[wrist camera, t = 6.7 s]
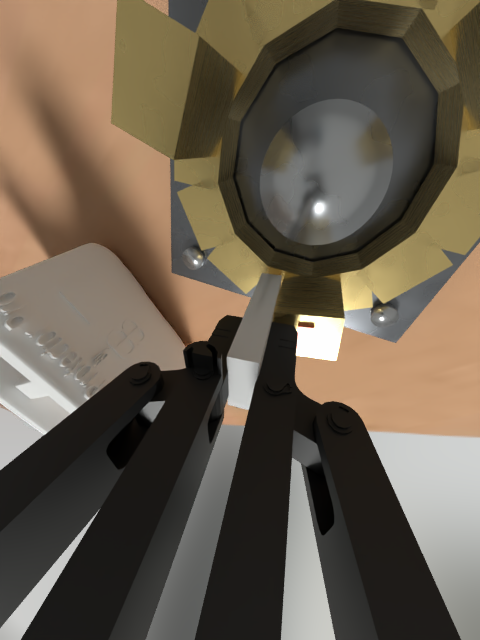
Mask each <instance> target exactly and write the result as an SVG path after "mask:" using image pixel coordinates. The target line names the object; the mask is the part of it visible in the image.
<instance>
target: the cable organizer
mask: <svg viewBox="0 0 480 640" xmlns="http://www.w3.org/2000/svg"><path fill="white" fill-rule="evenodd" d="M185 348H186V347H185V345H184V344H183V342H182V340H181V339H180V337H179V336H178V335H177V333H176V332H175V331H174V329H173V328H172V327H171V325H170V324H169V323H168V321H166V320H165V318H164V317H163V316H162V314H161V313H160V312H159V310H158V309H157V308H156V307H155V305H154V304H153V303H152V301H151V300H150V299H149V297H148V296H147V295H146V293H145V291H144V289H143V288H142V287H141V285H140V284H139V283H138V281H137V280H136V279H135V278H134V276H133V275H132V274H131V272H130V271H129V270H128V268H127V267H126V266H124V264H123V263H122V262H121V260H120V259H119V258H118V257H117V256H116V255H115V254H114V253H113V252H112V251H110V250H109V249H107V248H106V247H104V246H102V245H100V244H96V243H87V244H84V245H82V246H79V247H77V248H74V249H72V250H69V251H67V252H64V253H62V254H59V255H57V256H54V257H52V258H49V259H47V260H44V261H42V262H39V263H37V264H34V265H32V266H29V267H27V268H24V269H21V270H19V271H16V272H14V273H11V274H9V275H6V276H4V277H1V278H0V403H1V404H2V405H3V406H5V407H6V408H7V409H9V410H10V411H12V412H13V413H14V414H16V415H17V416H18V417H20V418H21V419H23V420H24V421H25V422H27V423H28V424H29V425H31V426H32V427H34V428H35V429H36V430H38V431H39V432H40V433H42V434H43V435H45V434H46V433H47V432H49V431H50V430H51V429H52V428H54V427H55V426H56V425H57V424H59V423H60V422H61V421H62V420H64V419H65V418H66V417H67V416H69V415H70V414H71V413H72V412H74V411H75V410H76V409H77V408H79V407H80V406H81V405H82V404H84V403H85V402H86V401H87V400H89V399H90V398H91V397H92V396H93V395H95V394H96V393H97V392H98V391H100V390H101V389H102V388H103V387H105V386H106V385H107V384H108V383H110V382H111V381H112V380H113V379H115V378H116V377H117V376H118V375H120V374H121V373H122V372H123V371H125V370H126V369H127V368H129V367H130V366H132V365H134V364H136V363H140V362H153V363H156V364H157V365H158V366H159V367H160V370H161V371H167V370H179V369H184V368H186V366H185V360H184V355H183V350H184V349H185Z"/></svg>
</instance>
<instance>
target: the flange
mask: <svg viewBox="0 0 480 640" xmlns="http://www.w3.org/2000/svg"><path fill="white" fill-rule="evenodd" d="M207 3H208V0H169V17H170V18H172V19H174V20H175V21H177V22H178V23H180V24H182V25H183V26H185V27H186V28H188V29H190V30H191V31H193V32H194V33H195V32H196V30H197V28H198V25H199V23H200V20H201V18H202V15H203V13H204V10H205V8H206V5H207ZM437 109H438V92H437V90H436V89H435V87H434V86H433V84H432V83H431V81H430V80H429V78H428V77H427V75H426V74H425V72H424V71H423V69H422V68H421V66H420V64H419V63H418V61H417V60H416V58H415V57H414V55H413V54H412V52H411V51H410V49H409V48H408V46H407V45H406V43H405V42H404V40H403V39H402V38H400V37H394V36H387V35H381V34H375V33H368V32H362V31H355V30H349V29H342V28H335V29H334V30H332V31H330V32H328V33H327V34H325V35H323V36H322V37H320V38H318V39H317V40H315V41H313V42H312V43H310V44H308V45H307V46H305V47H303V48H301V49H300V50H298V51H296V52H295V53H293V54H291V55H290V56H288V57H286V58H285V59H283V60H281V61H280V62H278V63H276V64H275V66H274V67H273V69H272V71H271V72H270V74H269V75H268V77H267V79H266V80H265V82H264V84H263V85H262V87H261V89H260V90H259V92H258V94H257V95H256V97H255V99H254V100H253V102H252V103H251V105H250V107H249V108H248V110H247V112H246V113H245V115H244V117H243V118H242V120H241V122H240V128H239V136H238V144H237V151H236V159H235V167H234V174H233V180H234V183H235V187H236V190H237V193H238V196H239V200H240V203H241V206H242V209H243V213H244V216H245V219H246V222H247V224H248V225H249V226H250V227H251V228H252V229H253V230H254V231H255V232H256V233H257V234H258V235H259V236H260V237H261V238H262V239H263V240H264V241H265V242H266V243H267V244H268V245H269V246H270V247H271V248H272V249H273V250H274V251H275V252H279V253H282V254H286V255H289V256H293V257H297V258H300V259H304V260H307V261H311V262H316V261H321V260H326V259H331V258H335V257H340V256H345V255H349V254H354V253H358V252H359V251H360V250H362V249H363V248H364V247H366V246H367V245H369V244H370V243H371V242H373V241H374V240H375V239H377V238H378V237H379V236H381V235H382V234H383V233H385V232H386V231H387V230H389V229H390V228H391V227H393V226H394V225H395V224H397V223H398V222H400V221H401V220H402V218H403V216H404V215H405V213H406V211H407V210H408V208H409V206H410V204H411V203H412V201H413V199H414V197H415V196H416V194H417V192H418V191H419V189H420V187H421V185H422V184H423V182H424V180H425V178H426V177H427V175H428V173H429V172H430V170H431V168H432V166H433V165H434V158H435V142H436V125H437ZM170 168H171V253H172V273H174V274H178V275H181V276H184V277H187V278H190V279H193V280H197V281H200V282H203V283H206V284H209V285H213V286H216V287H219V288H222V289H225V290H229V291H232V292H235V293H238V294H241V295H245V296H248V297H251V298H252V295H253V293H254V290H255V288H256V286H257V285H256V286H255V287H253V288H252V289H251V290H250V291H249V292H248V293H247V294H245V293H244V292H243V291H242V290H241V289H240V288H239V287H238V286H237V285H235V284H234V283H233V282H232V281H231V280H230V279H229V278H228V277H227V276H226V275H225V274H224V273H222V272H221V271H220V270H219V269H218V268H217V267H216V266H215V265H214V264H213V263H212V262H210V261H209V260H208V259H207V258H208V256H209V255H210V254H211V253H212V251H213V250H214V249H215V248H216V247H213V248H209V249H206V250H201V248H200V246H199V243H198V241H197V239H196V236H195V234H194V232H193V229H192V227H191V224H190V222H189V220H188V217H187V215H186V213H185V210H184V208H183V206H182V203H181V201H180V198H179V196H178V194H177V192H178V191H180V190H183V189H185V188H187V187H190V186H192V185H190V184H186V183H182V182H178V181H174V160H172V159H171V158H170ZM479 242H480V238H479V239H478V240H477V241H476V242H475V244H474V245H473V246H472V247H471V249H470V250H469V251H468V252H467V253H466V255H462V254H459V253H455V252H451V251H447V250H443V249H441V250H442V251H443V252H444V254H445V255H446V256H447V257H448V259H449V260H450V261H451V263H452V264H453V265H452V266H450V267H449V268H447V269H445V270H443V271H441V272H440V273H438V274H436V275H434V276H432V277H431V278H429V279H427V280H425V281H423V282H422V283H420V284H418V285H416V286H415V287H413V288H411V289H409V290H407V291H406V292H404V293H402V294H400V295H398V296H397V297H395V298H393V299H391V300H389V301H388V302H386V303H384V304H383V303H382V302H381V301H380V300H379V298H378V297H377V296H376V295H375V294H374V293H373V292H372V302H373V307H371V308H363V309H355V310H347V311H344V315H345V321H344V326H343V327H347V328H350V329H353V330H356V331H359V332H362V333H366V334H369V335H372V336H375V337H378V338H382V339H385V340H388V341H391V342H394V343H396V342H397V341H398V340H399V338H400V337H401V336H402V335H403V334H404V332H405V331H406V330H407V329H408V328H409V326H410V325H411V324H412V323H413V322H414V320H415V319H416V318H417V317H418V316H419V314H420V313H421V312H422V311H423V310H424V308H425V307H426V306H427V305H428V304H429V302H430V301H431V300H432V299H433V298H434V296H435V295H436V294H437V293H438V292H439V290H440V289H441V288H442V287H443V286H444V284H445V283H446V282H447V281H448V280H449V278H450V277H451V276H452V275H453V274H454V272H455V271H456V270H457V269H458V268H459V266H460V265H461V264H462V263H463V262H464V260H465V259H466V258H467V257H468V256H469V254H470V253H471V252H472V251H473V250H474V248H475V247H476V246H477V245H478V244H479Z"/></svg>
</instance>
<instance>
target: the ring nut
mask: <svg viewBox="0 0 480 640" xmlns="http://www.w3.org/2000/svg"><path fill="white" fill-rule="evenodd" d="M335 28H342V29H349V30H355V31H362V32H368V33H375V34H381V35H387V36H394V37H400V38H402V39H403V40H404V42H405V43H406V45H407V46H408V48H409V49H410V51H411V52H412V54H413V55H414V57H415V58H416V60H417V61H418V63H419V64H420V66H421V68H422V69H423V71H424V72H425V74H426V75H427V77H428V78H429V80H430V81H431V83H432V84H433V86H434V87H435V89H436V90H437V92H438V109H437V125H436V142H435V158H434V165H433V166H432V168H431V170H430V172H429V173H428V175H427V177H426V178H425V180H424V182H423V184H422V185H421V187H420V189H419V191H418V192H417V194H416V196H415V197H414V199H413V201H412V203H411V204H410V206H409V208H408V210H407V211H406V213H405V215H404V216H403V218H402V220H401V221H400V222H398V223H397V224H395V225H394V226H393V227H391V228H390V229H389V230H387V231H386V232H385V233H383V234H382V235H381V236H379V237H378V238H377V239H375V240H374V241H373V242H371V243H370V244H369V245H367V246H366V247H364V248H363V249H362V250H360V251H359V252H358V253H354V254H349V255H345V256H340V257H335V258H331V259H326V260H321V261H316V262H311V261H307V260H304V259H300V258H297V257H293V256H289V255H286V254H282V253H279V252H275V251H274V250H273V249H272V248H271V247H270V246H269V245H268V244H267V243H266V242H265V241H264V240H263V239H262V238H261V237H260V236H259V235H258V234H257V233H256V232H255V231H254V230H253V229H252V228H251V227H250V226H249V225H248V224H247V222H246V219H245V216H244V213H243V209H242V206H241V203H240V200H239V196H238V193H237V190H236V187H235V183H234V180H233V174H234V167H235V159H236V151H237V144H238V136H239V128H240V122H241V120H242V118H243V117H244V115H245V113H246V112H247V110H248V108H249V107H250V105H251V103H252V102H253V100H254V99H255V97H256V95H257V94H258V92H259V90H260V89H261V87H262V85H263V84H264V82H265V80H266V79H267V77H268V75H269V74H270V72H271V71H272V69H273V67H274V66H275V64H276V63H278V62H280V61H281V60H283V59H285V58H286V57H288V56H290V55H291V54H293V53H295V52H296V51H298V50H300V49H301V48H303V47H305V46H307V45H308V44H310V43H312V42H313V41H315V40H317V39H318V38H320V37H322V36H323V35H325V34H327V33H328V32H330V31H332V30H334V29H335ZM111 123H112V124H114V125H115V126H117V127H119V128H120V129H122V130H124V131H125V132H127V133H129V134H130V135H132V136H134V137H135V138H137V139H139V140H141V141H142V142H144V143H146V144H147V145H149V146H151V147H152V148H154V149H156V150H157V151H159V152H161V153H162V154H164V155H166V156H167V157H169V158H171V159H172V160H174V181H178V182H182V183H186V184H190V185H192V186H190V187H187V188H185V189H183V190H180V191H178V192H177V194H178V196H179V198H180V201H181V203H182V206H183V208H184V210H185V213H186V215H187V217H188V220H189V222H190V224H191V227H192V229H193V232H194V234H195V236H196V239H197V241H198V243H199V246H200V248H201V250H206V249H209V248H213V247H216V248H215V249H214V250H213V251H212V253H211V254H210V255H209V256H208V258H207V259H208V260H209V261H210V262H212V263H213V264H214V265H215V266H216V267H217V268H218V269H219V270H220V271H221V272H222V273H224V274H225V275H226V276H227V277H228V278H229V279H230V280H231V281H232V282H233V283H234V284H235V285H237V286H238V287H239V288H240V289H241V290H242V291H243V292H244V293H245V294H247V293H248V292H249V291H250V290H251V289H252V288H253V287H255V286H256V285H257V283H258V281H259V279H260V276H261V274H262V273H266V274H274V275H281V276H282V279H281V287H280V291H279V294H278V297H277V301H276V305H275V309H274V315H273V322H276V323H282V324H288V325H294V326H295V328H296V330H297V332H298V342H297V353H296V355H298V356H305V357H312V358H320V359H327V360H334V361H336V359H337V354H338V350H339V345H340V340H341V335H342V331H343V326H344V321H345V315H344V311H347V310H355V309H363V308H371V307H373V302H372V292H373V293H374V294H375V295H376V296H377V297H378V298H379V300H380V301H381V302H382V303H383V304H384V303H386V302H388V301H389V300H391V299H393V298H395V297H397V296H398V295H400V294H402V293H404V292H406V291H407V290H409V289H411V288H413V287H415V286H416V285H418V284H420V283H422V282H423V281H425V280H427V279H429V278H431V277H432V276H434V275H436V274H438V273H440V272H441V271H443V270H445V269H447V268H449V267H450V266H452V265H453V264H452V263H451V261H450V260H449V259H448V257H447V256H446V255H445V254H444V252H443V251H442V250H441V249H443V250H447V251H451V252H455V253H459V254H462V255H466V253H467V252H468V251H469V250H470V249H471V247H472V246H473V245H474V244H475V242H476V241H477V240H478V239H479V238H480V0H208V3H207V5H206V8H205V10H204V13H203V15H202V18H201V20H200V23H199V25H198V28H197V30H196V32H195V33H194V32H193V31H191V30H190V29H188V28H186V27H185V26H183V25H182V24H180V23H178V22H177V21H175V20H174V19H172V18H170V17H169V16H167V15H165V14H164V13H162V12H161V11H159V10H157V9H156V8H154V7H153V6H151V5H149V4H148V3H146V2H145V1H143V0H117V14H116V35H115V55H114V76H113V96H112V116H111Z"/></svg>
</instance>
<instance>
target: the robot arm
mask: <svg viewBox="0 0 480 640" xmlns="http://www.w3.org/2000/svg"><path fill="white" fill-rule="evenodd" d="M281 279H282V276H281V275H274V274H266V273H262V274H261V276H260V279H259V281H258V283H257V286H256V288H255V290H254V293H253V295H252V298H251V300H250V302H249V305H248V307H247V309H246V312H245V314H244V317H243V318H242V317H236V316H230V315H226V316H225V317H224V318H222V319H221V320H220V321H219V322H218V324H217V326H216V328H215V329H214V331H213V333H212V336H211V337H210V338H209V340H208V341H199V342H194V343H192V344H190V345H188V346H187V347H186V348H185V349H184V350H183V355H184V360H185V366H186V368H184V369H179V370H167V371H161V370H160V367H159V366H158V365H157V364H156V363H153V362H140V363H136V364H134V365H132V366H130V367H129V368H127V369H126V370H125V371H123V372H122V373H121V374H120V375H118V376H117V377H116V378H115V379H113V380H112V381H111V382H110V383H108V384H107V385H106V386H105V387H103V388H102V389H101V390H100V391H98V392H97V393H96V394H95V395H93V396H92V397H91V398H90V399H89V400H87V401H86V402H85V403H84V404H82V405H81V406H80V407H79V408H77V409H76V410H75V411H74V412H72V413H71V414H70V415H69V416H67V417H66V418H65V419H64V420H62V421H61V422H60V423H59V424H57V425H56V426H55V427H54V428H52V429H51V430H50V431H49V432H47V433H46V434H45V435H44V436H42V437H41V438H40V439H39V440H37V441H36V442H35V443H34V444H33V445H31V446H30V447H29V448H28V449H26V450H25V451H24V452H23V453H21V454H20V455H19V456H18V457H16V458H15V459H14V460H13V461H12V462H10V463H9V464H8V465H6V466H5V467H4V468H3V469H2V470H0V628H1V626H2V625H3V624H4V623H5V622H6V620H7V619H8V618H9V617H10V616H11V614H12V613H13V612H14V611H15V610H16V608H17V607H18V606H19V605H20V604H21V602H22V601H23V600H24V599H25V598H26V596H27V595H28V594H29V593H30V591H31V590H32V589H33V588H34V587H35V586H36V585H37V583H38V582H39V581H40V580H41V579H42V577H43V576H44V575H45V574H46V572H47V571H48V570H49V569H50V568H51V567H52V565H53V564H54V563H55V562H56V561H57V559H58V558H59V557H60V556H61V555H62V553H63V552H64V551H65V550H66V549H67V547H68V546H69V545H70V544H71V543H72V541H73V540H74V539H75V538H76V537H77V535H78V534H79V533H80V532H81V531H82V530H83V528H84V527H85V526H86V525H87V524H88V522H89V521H90V520H91V519H92V517H93V516H94V515H95V514H96V513H97V512H98V510H99V509H100V510H99V512H98V513H97V515H96V517H95V518H94V520H93V522H92V523H91V525H90V527H89V528H88V530H87V531H86V533H85V535H84V536H83V538H82V540H81V542H80V543H79V545H78V547H77V548H76V550H75V551H74V553H73V555H72V556H71V558H70V559H69V561H68V563H67V564H66V566H65V568H64V570H63V571H62V573H61V574H60V576H59V578H58V579H57V581H56V583H55V584H54V586H53V588H52V589H51V591H50V593H49V594H48V596H47V597H46V599H45V601H44V602H43V604H42V606H41V607H40V609H39V611H38V612H37V614H36V616H35V617H34V619H33V621H32V622H31V624H30V625H29V627H28V629H27V630H26V632H25V634H24V635H23V637H22V639H21V640H145V639H146V637H147V634H148V631H149V628H150V625H151V622H152V619H153V617H154V614H155V611H156V608H157V605H158V602H159V600H160V597H161V594H162V591H163V588H164V586H165V583H166V580H167V577H168V574H169V571H170V569H171V566H172V563H173V560H174V557H175V554H176V552H177V549H178V546H179V543H180V540H181V537H182V535H183V531H184V529H185V526H186V523H187V521H188V518H189V515H190V512H191V509H192V506H193V504H194V501H195V498H196V495H197V492H198V489H199V487H200V484H201V481H202V478H203V475H204V472H205V470H206V467H207V464H208V461H209V458H210V455H211V453H212V450H213V447H214V444H215V441H216V438H217V436H218V433H219V430H220V427H221V424H222V422H223V419H224V407H225V404H226V402H227V399H228V405H231V406H235V407H238V408H242V409H247V410H249V411H248V416H247V420H246V424H245V428H244V433H243V437H242V441H241V445H240V450H239V454H238V458H237V463H236V467H235V471H234V475H233V480H232V484H231V488H230V492H229V496H228V501H227V505H226V509H225V514H224V518H223V522H222V526H221V530H220V535H219V539H218V543H217V548H216V552H215V556H214V560H213V564H212V569H211V573H210V577H209V582H208V586H207V590H206V594H205V598H204V603H203V607H202V611H201V615H200V620H199V624H198V628H197V633H196V637H195V640H281V626H282V610H283V594H284V577H285V560H286V544H287V528H288V512H289V496H290V495H289V494H290V479H291V462H292V458H294V459H296V460H297V461H299V462H300V463H301V465H302V470H303V475H304V481H305V486H306V491H307V496H308V500H309V506H310V511H311V516H312V521H313V527H314V532H315V537H316V542H317V547H318V552H319V557H320V562H321V567H322V573H323V578H324V583H325V588H326V593H327V598H328V603H329V608H330V613H331V619H332V624H333V629H334V634H335V639H336V640H461V639H460V636H459V634H458V632H457V630H456V627H455V625H454V623H453V621H452V619H451V617H450V614H449V612H448V610H447V607H446V605H445V603H444V601H443V599H442V596H441V594H440V592H439V590H438V588H437V586H436V583H435V581H434V579H433V576H432V574H431V572H430V570H429V567H428V565H427V563H426V561H425V558H424V556H423V554H422V552H421V550H420V547H419V545H418V543H417V541H416V538H415V536H414V534H413V532H412V529H411V527H410V525H409V523H408V521H407V518H406V516H405V514H404V512H403V510H402V507H401V506H400V503H399V501H398V498H397V496H396V494H395V492H394V489H393V487H392V485H391V483H390V481H389V478H388V476H387V474H386V472H385V469H384V467H383V465H382V463H381V460H380V458H379V456H378V454H377V452H376V449H375V447H374V445H373V443H372V440H371V438H370V436H369V434H368V431H367V429H366V427H365V425H364V423H363V421H362V419H361V418H360V416H359V415H358V413H356V412H355V411H354V410H353V409H352V408H351V407H349V406H347V405H345V404H343V403H340V402H334V401H332V402H326V403H324V404H322V405H321V404H319V403H317V402H315V401H313V400H311V399H310V398H308V397H307V396H305V395H304V394H303V393H302V392H301V391H300V390H299V389H298V387H297V386H296V383H295V365H296V353H297V342H298V332H297V330H296V328H295V326H294V325H288V324H282V323H276V322H273V315H274V309H275V305H276V301H277V297H278V294H279V291H280V287H281Z"/></svg>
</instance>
